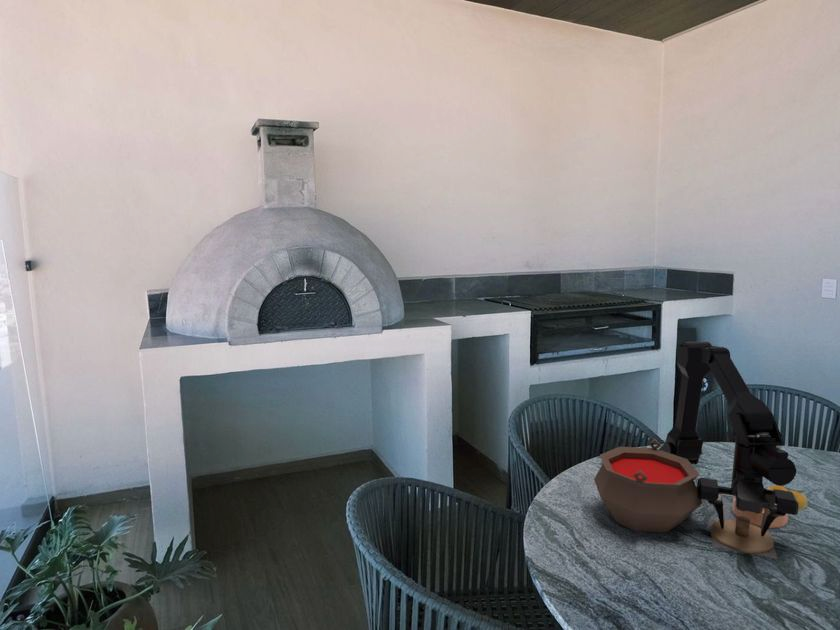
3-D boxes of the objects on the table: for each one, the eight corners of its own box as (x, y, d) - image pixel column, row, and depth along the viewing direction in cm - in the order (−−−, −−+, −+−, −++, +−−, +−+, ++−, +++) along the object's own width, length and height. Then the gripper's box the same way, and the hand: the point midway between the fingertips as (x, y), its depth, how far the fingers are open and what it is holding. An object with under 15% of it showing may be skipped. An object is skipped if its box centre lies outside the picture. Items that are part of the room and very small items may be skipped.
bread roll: (801, 516, 138) (803, 500, 137) (760, 502, 144) (761, 487, 144) (812, 505, 143) (813, 490, 142) (772, 492, 150) (773, 478, 149)
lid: (712, 546, 123) (714, 526, 123) (709, 519, 134) (710, 501, 134) (777, 558, 119) (779, 538, 118) (768, 530, 130) (770, 511, 129)
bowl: (735, 524, 134) (736, 508, 133) (730, 503, 144) (732, 488, 143) (790, 534, 129) (792, 518, 129) (782, 511, 139) (783, 496, 139)
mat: (712, 549, 124) (712, 545, 123) (708, 522, 134) (709, 519, 134) (777, 562, 119) (777, 558, 119) (768, 533, 130) (768, 530, 130)
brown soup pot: (603, 487, 152) (606, 428, 150) (704, 509, 141) (709, 445, 138) (579, 528, 132) (582, 461, 129) (695, 559, 120) (701, 485, 117)
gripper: (702, 471, 120) (696, 541, 123) (807, 488, 113) (799, 561, 115) (699, 452, 130) (694, 516, 133) (796, 466, 123) (789, 533, 125)
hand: (741, 531), depth 126 cm, fingers open, 7 cm apart
